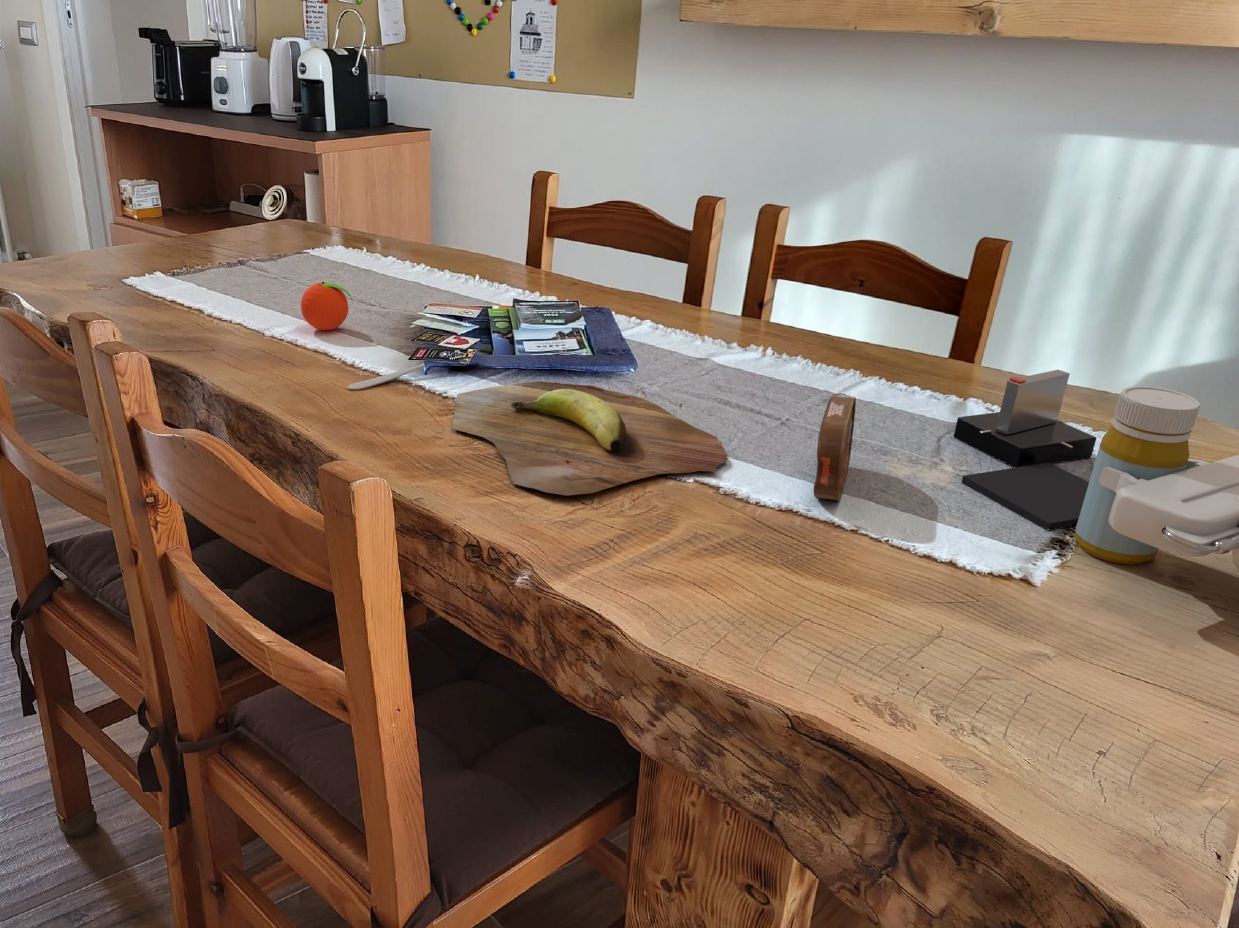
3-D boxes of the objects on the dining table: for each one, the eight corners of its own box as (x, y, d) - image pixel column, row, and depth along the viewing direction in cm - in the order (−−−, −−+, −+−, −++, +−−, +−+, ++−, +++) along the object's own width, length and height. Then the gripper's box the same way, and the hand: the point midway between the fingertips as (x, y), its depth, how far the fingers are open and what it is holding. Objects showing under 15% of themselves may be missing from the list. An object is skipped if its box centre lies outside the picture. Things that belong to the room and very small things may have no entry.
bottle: (1057, 533, 100) (1099, 385, 93) (1125, 531, 101) (1171, 384, 94) (1100, 568, 94) (1148, 412, 87) (1172, 565, 94) (1224, 411, 88)
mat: (1047, 469, 114) (1049, 462, 114) (1138, 514, 104) (1141, 507, 104) (961, 482, 110) (962, 475, 110) (1047, 530, 100) (1049, 523, 100)
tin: (836, 514, 102) (850, 435, 98) (804, 509, 103) (817, 430, 99) (850, 460, 115) (863, 388, 111) (821, 455, 116) (833, 383, 112)
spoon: (490, 366, 141) (491, 354, 140) (355, 394, 129) (355, 381, 128) (473, 358, 144) (473, 347, 143) (340, 384, 132) (339, 372, 131)
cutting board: (765, 466, 113) (770, 433, 111) (548, 514, 100) (550, 477, 98) (593, 373, 139) (595, 345, 138) (405, 401, 127) (405, 371, 125)
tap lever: (1044, 418, 122) (1058, 367, 119) (1056, 422, 120) (1070, 371, 118) (994, 430, 117) (1007, 378, 115) (1006, 435, 116) (1020, 382, 113)
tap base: (1022, 421, 128) (1027, 401, 126) (1109, 462, 117) (1116, 440, 116) (936, 433, 123) (941, 412, 122) (1019, 476, 112) (1025, 453, 111)
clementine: (363, 326, 156) (360, 278, 153) (346, 338, 150) (344, 289, 147) (312, 321, 157) (309, 274, 154) (294, 334, 151) (291, 285, 148)
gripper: (1199, 591, 80) (1045, 520, 91) (1338, 539, 90) (1184, 479, 100) (1226, 518, 78) (1064, 453, 88) (1367, 472, 87) (1204, 418, 97)
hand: (1129, 467), depth 94 cm, fingers closed on bottle, 5 cm apart
